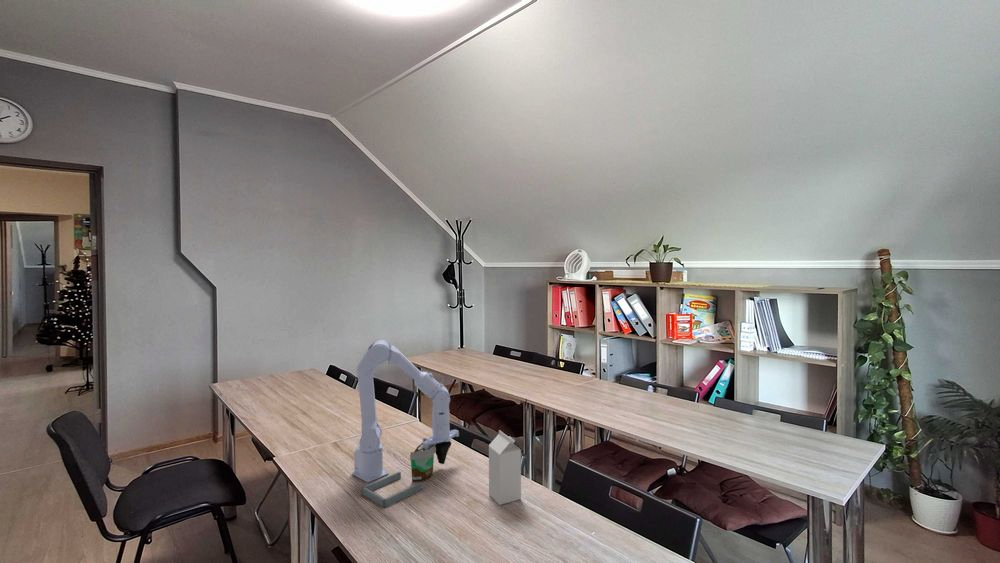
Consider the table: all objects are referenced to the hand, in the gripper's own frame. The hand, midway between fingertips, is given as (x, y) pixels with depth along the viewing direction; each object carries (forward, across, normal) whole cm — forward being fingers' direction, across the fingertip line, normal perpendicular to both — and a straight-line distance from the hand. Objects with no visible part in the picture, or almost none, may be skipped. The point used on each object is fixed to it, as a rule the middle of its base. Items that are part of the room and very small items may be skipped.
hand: (441, 463), depth 153 cm
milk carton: (+2, 0, -28) cm, 28 cm away
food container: (+2, -7, 0) cm, 7 cm away
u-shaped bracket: (+2, -20, 0) cm, 20 cm away
